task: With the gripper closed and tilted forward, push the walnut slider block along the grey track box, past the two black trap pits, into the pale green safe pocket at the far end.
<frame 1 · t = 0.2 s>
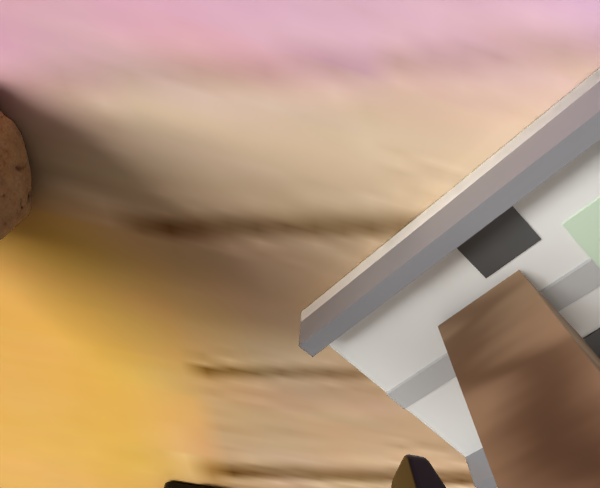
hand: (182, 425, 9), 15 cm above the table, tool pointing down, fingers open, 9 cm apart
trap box: (528, 297, 24), on the table
slider: (559, 414, 19), point 7 cm above the table, slide at 0.0 cm
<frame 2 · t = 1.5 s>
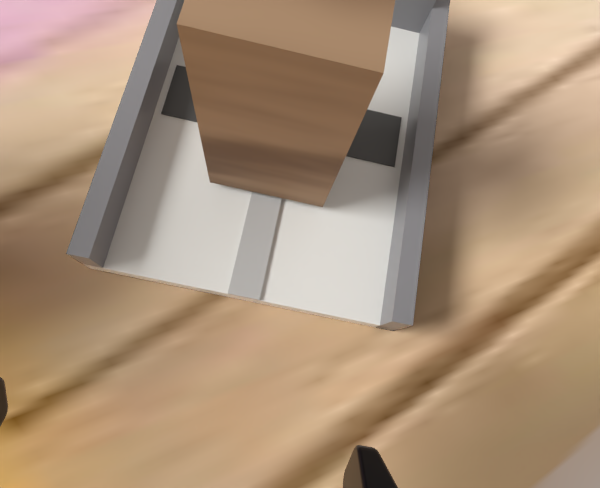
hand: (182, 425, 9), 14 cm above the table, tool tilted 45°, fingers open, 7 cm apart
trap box: (281, 137, 26), on the table
slider: (284, 91, 19), point 7 cm above the table, slide at 0.0 cm
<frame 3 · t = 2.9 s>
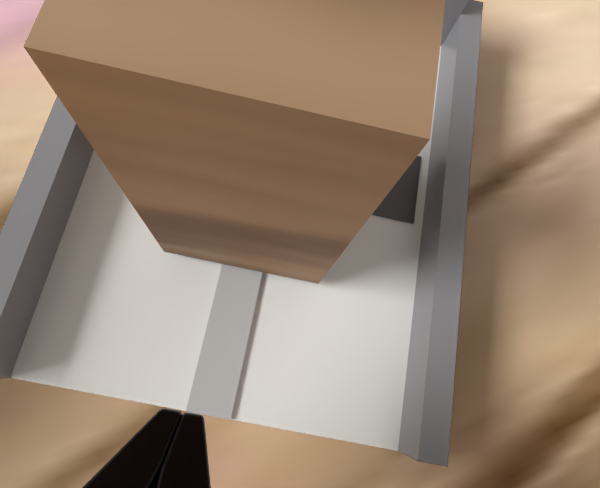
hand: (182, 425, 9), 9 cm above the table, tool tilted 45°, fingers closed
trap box: (263, 183, 20), on the table
slider: (259, 138, 12), point 7 cm above the table, slide at 0.0 cm
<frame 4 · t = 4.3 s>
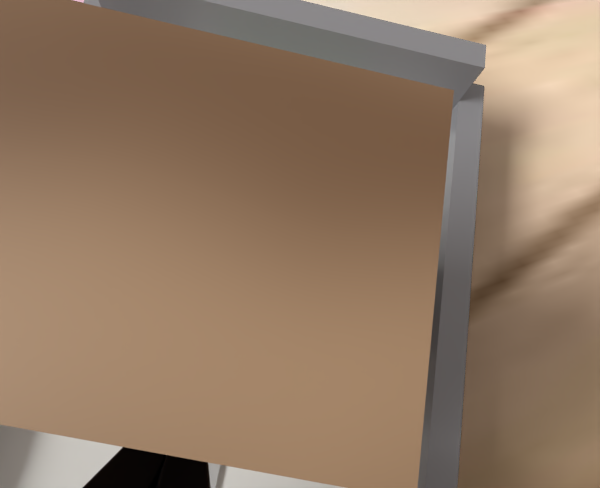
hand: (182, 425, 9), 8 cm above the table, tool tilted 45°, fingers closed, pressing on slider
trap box: (237, 292, 17), on the table
slider: (217, 295, 10), point 7 cm above the table, slide at 0.4 cm, touching gripper
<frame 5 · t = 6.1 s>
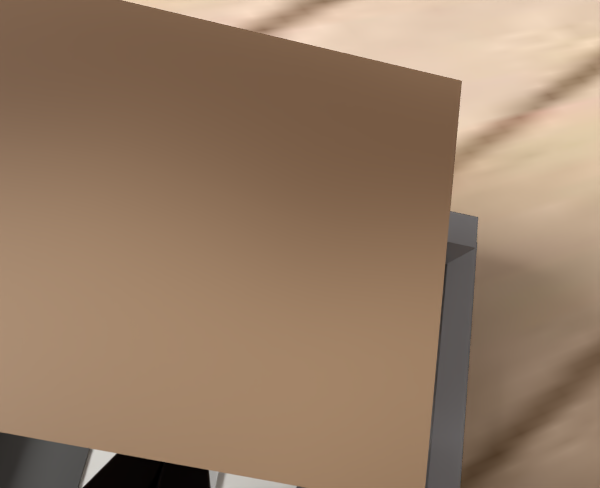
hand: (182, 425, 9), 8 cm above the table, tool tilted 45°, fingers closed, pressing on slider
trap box: (192, 483, 15), on the table
slider: (217, 293, 10), point 7 cm above the table, slide at 7.3 cm, touching gripper
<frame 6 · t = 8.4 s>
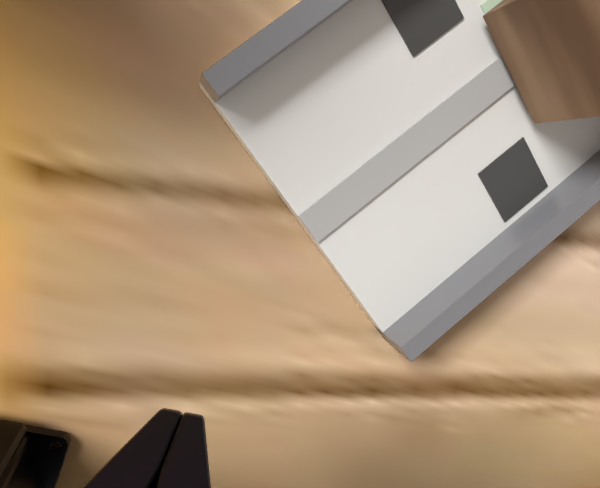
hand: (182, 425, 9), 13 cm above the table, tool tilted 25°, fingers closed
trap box: (446, 110, 23), on the table
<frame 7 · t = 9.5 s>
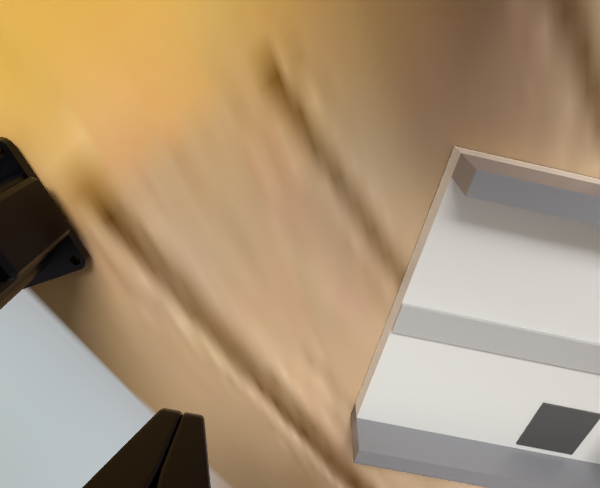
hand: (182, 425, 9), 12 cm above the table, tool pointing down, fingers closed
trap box: (581, 342, 22), on the table
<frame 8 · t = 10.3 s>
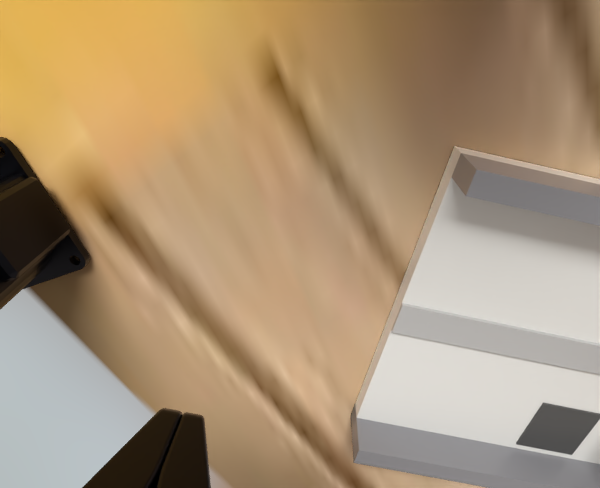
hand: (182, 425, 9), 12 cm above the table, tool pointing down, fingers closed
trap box: (581, 342, 22), on the table
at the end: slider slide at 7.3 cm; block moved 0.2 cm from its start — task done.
